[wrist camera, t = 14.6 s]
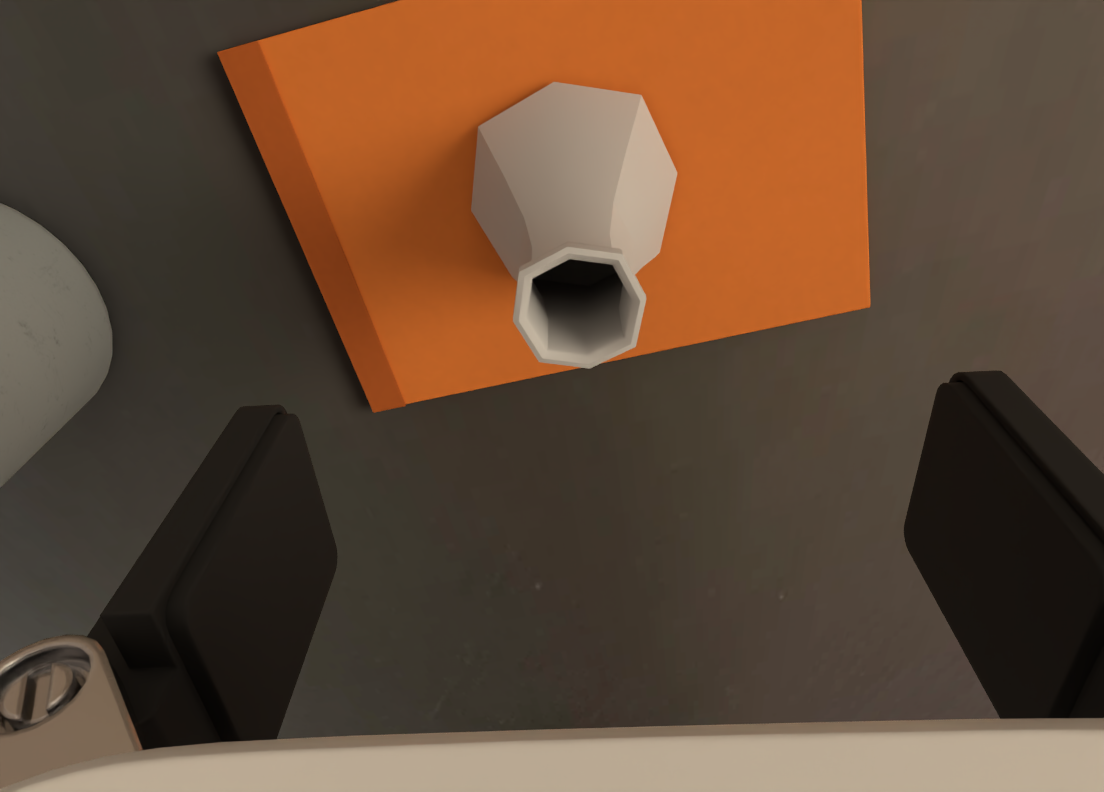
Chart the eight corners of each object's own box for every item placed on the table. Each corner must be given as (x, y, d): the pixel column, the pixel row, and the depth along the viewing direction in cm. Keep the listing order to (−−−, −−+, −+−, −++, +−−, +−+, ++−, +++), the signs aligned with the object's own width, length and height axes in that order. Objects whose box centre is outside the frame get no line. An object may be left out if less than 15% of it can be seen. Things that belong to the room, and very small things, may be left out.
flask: (665, 58, 24) (723, 125, 16) (686, 268, 28) (742, 415, 19) (446, 101, 25) (386, 188, 16) (494, 300, 29) (466, 455, 20)
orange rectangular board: (223, 49, 25) (216, 52, 24) (852, -128, 22) (859, -130, 21) (376, 405, 32) (373, 412, 31) (866, 302, 29) (871, 308, 28)
